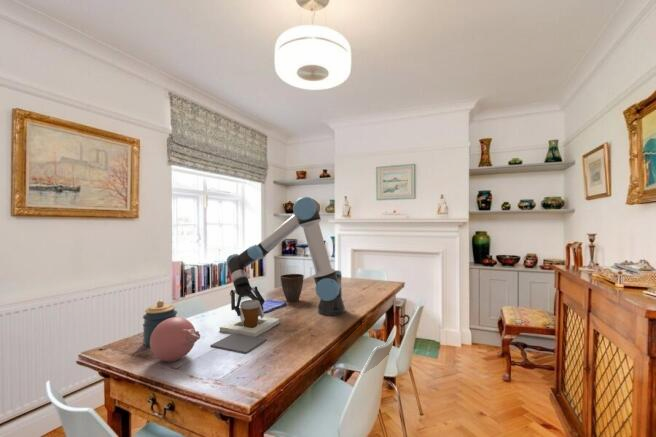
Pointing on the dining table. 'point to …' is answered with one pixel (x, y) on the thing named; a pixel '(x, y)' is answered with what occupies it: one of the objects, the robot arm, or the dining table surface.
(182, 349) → the balloon
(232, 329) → the holder board
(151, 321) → the canister
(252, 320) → the disposable coffee cup
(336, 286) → the robot arm
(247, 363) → the dining table surface
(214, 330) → the dining table surface
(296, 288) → the plant pot
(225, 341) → the rubber mat
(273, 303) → the dish towel
